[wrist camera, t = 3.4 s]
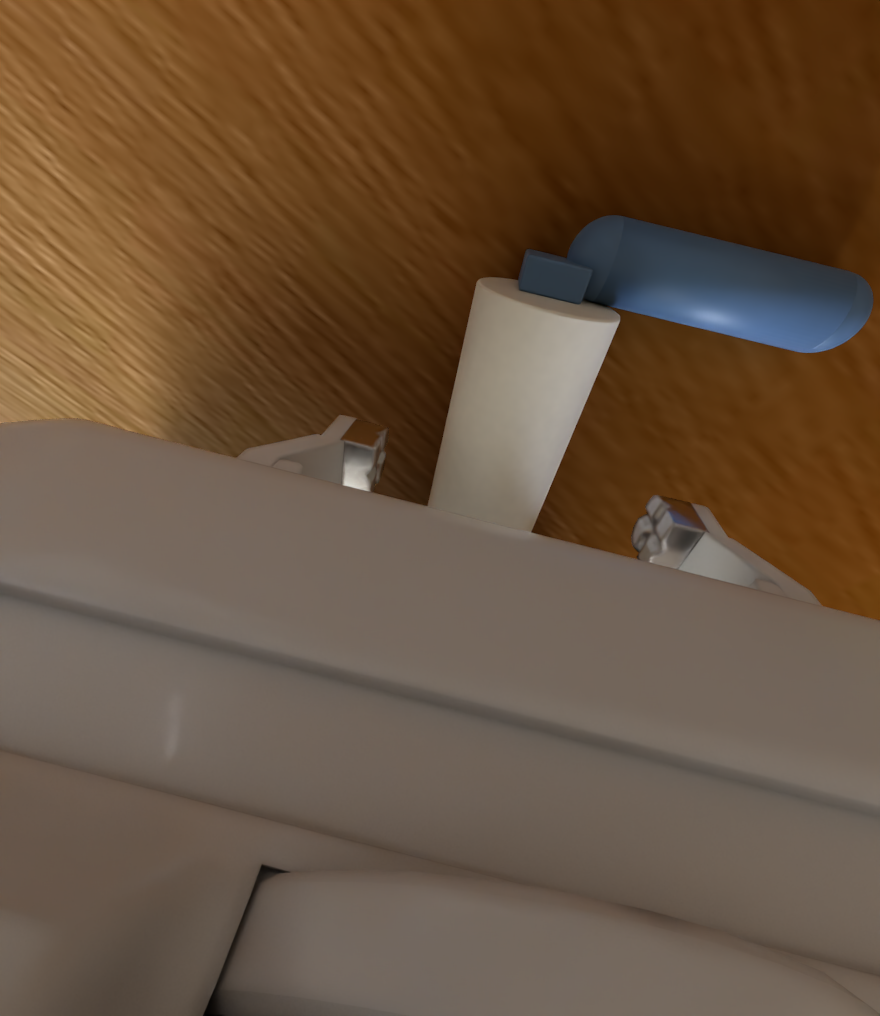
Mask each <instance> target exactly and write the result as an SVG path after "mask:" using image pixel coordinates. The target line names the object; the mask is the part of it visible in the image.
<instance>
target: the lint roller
mask: <svg viewBox="0 0 880 1016" xmlns="http://www.w3.org/2000/svg"><path fill="white" fill-rule="evenodd" d="M605 305H606V306H605ZM607 306H610V307H614V308H618V309H623V310H627V311H631V312H635V313H639V314H643V315H647V316H651V317H656V318H660V319H664V320H668V321H672V322H676V323H680V324H684V325H689V326H693V327H697V328H701V329H705V330H709V331H713V332H717V333H722V334H726V335H730V336H734V337H738V338H742V339H746V340H751V341H755V342H759V343H763V344H767V345H771V346H775V347H779V348H784V349H788V350H792V351H796V352H802V353H814V352H821V351H825V350H829V349H832V348H834V347H836V346H839V345H841V344H843V343H844V342H846V341H848V340H849V339H850V338H851V337H853V336H854V335H855V334H856V333H857V332H858V331H859V330H860V329H861V328H862V327H863V326H864V324H865V323H866V321H867V320H868V318H869V316H870V313H871V310H872V307H873V293H872V290H871V287H870V286H869V284H868V283H867V281H866V280H865V279H864V278H862V277H861V276H860V275H858V274H855V273H853V272H850V271H847V270H843V269H839V268H835V267H830V266H826V265H822V264H818V263H814V262H810V261H806V260H802V259H797V258H793V257H789V256H785V255H781V254H777V253H773V252H769V251H764V250H760V249H756V248H752V247H748V246H744V245H740V244H736V243H731V242H727V241H723V240H719V239H715V238H711V237H707V236H702V235H698V234H694V233H690V232H686V231H682V230H678V229H674V228H669V227H665V226H661V225H657V224H653V223H649V222H645V221H641V220H636V219H632V218H628V217H624V216H618V215H610V216H604V217H601V218H598V219H596V220H594V221H593V222H591V223H589V224H588V225H587V226H585V227H584V228H583V229H582V230H581V231H580V232H579V234H578V235H577V236H576V237H575V239H574V241H573V242H572V244H571V246H570V249H569V251H568V255H567V258H565V257H561V256H556V255H552V254H548V253H544V252H540V251H536V250H532V249H527V250H526V252H525V255H524V259H523V263H522V266H521V270H520V274H519V277H518V280H514V279H507V278H497V277H487V278H481V279H479V280H478V281H477V283H476V288H475V292H474V297H473V302H472V306H471V311H470V315H469V320H468V324H467V329H466V333H465V338H464V343H463V347H462V352H461V356H460V361H459V365H458V370H457V374H456V379H455V384H454V388H453V393H452V397H451V402H450V406H449V411H448V415H447V420H446V425H445V429H444V434H443V438H442V443H441V447H440V452H439V456H438V461H437V465H436V470H435V475H434V479H433V484H432V488H431V493H430V497H429V502H428V507H432V508H436V509H440V510H444V511H448V512H452V513H456V514H460V515H464V516H468V517H472V518H476V519H480V520H484V521H488V522H492V523H496V524H500V525H504V526H508V527H511V528H515V529H519V530H523V531H527V532H531V531H532V529H533V527H534V524H535V522H536V520H537V517H538V515H539V512H540V510H541V508H542V505H543V503H544V501H545V498H546V496H547V493H548V491H549V489H550V486H551V484H552V482H553V479H554V477H555V474H556V472H557V470H558V467H559V465H560V463H561V460H562V458H563V455H564V453H565V451H566V448H567V446H568V443H569V441H570V439H571V436H572V434H573V432H574V429H575V427H576V424H577V422H578V420H579V417H580V415H581V413H582V410H583V408H584V405H585V403H586V401H587V398H588V396H589V394H590V391H591V389H592V386H593V384H594V382H595V379H596V377H597V375H598V372H599V370H600V367H601V365H602V363H603V360H604V358H605V356H606V353H607V351H608V348H609V346H610V344H611V341H612V339H613V336H614V334H615V332H616V329H617V327H618V325H619V322H620V315H619V314H618V313H617V312H615V311H614V310H612V309H611V308H609V307H607Z"/></svg>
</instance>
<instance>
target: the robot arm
mask: <svg viewBox="0 0 880 1016" xmlns="http://www.w3.org/2000/svg"><path fill="white" fill-rule="evenodd" d="M388 439H389V427H385V426H381V425H378V424H374V423H370V422H367V421H363V420H359V419H357V418H353V417H348V416H344V415H339V416H338V417H337V418H336V419H335V420H334V421H333V423H332V424H331V425H330V426H329V427H328V428H327V429H326V430H325V431H324V433H323V434H322V435H319V434H314V435H309V436H304V437H300V438H295V439H290V440H285V441H281V442H276V443H271V444H266V445H262V446H257V447H252V448H247V449H246V450H245V451H243V452H242V453H241V454H240V455H239V456H238V457H236V458H235V457H231V456H227V455H223V454H219V453H215V452H211V451H207V450H203V449H199V448H195V447H191V446H187V445H183V444H179V443H175V442H171V441H167V440H163V439H159V438H155V437H151V436H147V435H143V434H139V433H135V432H132V431H128V430H124V429H120V428H117V427H113V426H110V425H106V424H103V423H99V422H94V421H90V420H86V419H78V418H63V419H42V420H28V421H16V422H5V423H0V1016H880V621H879V620H875V619H872V618H868V617H864V616H860V615H856V614H852V613H848V612H844V611H840V610H836V609H832V608H828V607H824V606H822V605H821V604H820V603H819V601H818V600H817V599H816V597H815V596H814V595H813V594H812V592H811V591H809V590H808V589H807V588H805V587H804V586H802V585H801V584H799V583H798V582H796V581H795V580H793V579H792V578H790V577H789V576H787V575H786V574H784V573H783V572H781V571H780V570H778V569H777V568H775V567H774V566H773V565H771V564H770V563H768V562H767V561H765V560H764V559H762V558H761V557H759V556H758V555H756V554H755V553H753V552H752V551H750V550H749V549H747V548H746V547H744V546H743V545H741V544H740V543H739V542H737V541H736V540H734V539H731V538H728V536H727V535H726V533H725V532H724V531H723V529H722V528H721V526H720V525H719V523H718V522H717V520H716V519H715V517H714V516H713V514H712V513H711V511H710V510H709V508H708V507H705V506H702V505H697V504H692V503H690V502H686V501H681V500H677V499H673V498H668V497H664V496H659V495H654V496H653V497H652V498H651V499H650V500H649V501H648V503H647V504H646V506H645V508H646V513H647V514H645V515H643V516H641V517H640V518H638V520H637V521H636V523H635V525H634V527H633V531H632V535H631V542H632V545H633V547H634V548H635V549H636V550H637V551H638V552H639V554H638V556H637V559H634V558H630V557H626V556H622V555H618V554H614V553H610V552H606V551H602V550H598V549H595V548H591V547H587V546H583V545H579V544H575V543H571V542H567V541H563V540H559V539H555V538H551V537H547V536H543V535H539V534H535V533H531V532H527V531H523V530H519V529H515V528H511V527H508V526H504V525H500V524H496V523H492V522H488V521H484V520H480V519H476V518H472V517H468V516H464V515H460V514H456V513H452V512H448V511H444V510H440V509H436V508H432V507H428V506H425V505H421V504H417V503H413V502H409V501H405V500H401V499H397V498H393V497H389V496H385V495H381V494H377V493H373V492H374V490H375V484H376V483H379V480H380V478H381V476H382V473H383V470H384V465H385V460H386V453H385V451H384V448H385V447H386V445H387V443H388Z"/></svg>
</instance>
